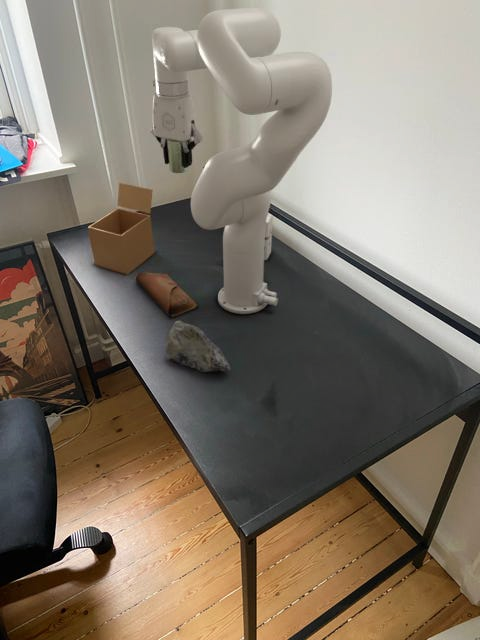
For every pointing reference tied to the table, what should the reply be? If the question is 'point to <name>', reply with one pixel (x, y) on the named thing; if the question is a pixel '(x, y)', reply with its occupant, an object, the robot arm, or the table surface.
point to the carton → (121, 240)
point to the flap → (135, 197)
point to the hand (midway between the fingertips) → (178, 163)
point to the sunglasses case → (166, 293)
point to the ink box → (268, 237)
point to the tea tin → (175, 156)
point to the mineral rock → (194, 349)
